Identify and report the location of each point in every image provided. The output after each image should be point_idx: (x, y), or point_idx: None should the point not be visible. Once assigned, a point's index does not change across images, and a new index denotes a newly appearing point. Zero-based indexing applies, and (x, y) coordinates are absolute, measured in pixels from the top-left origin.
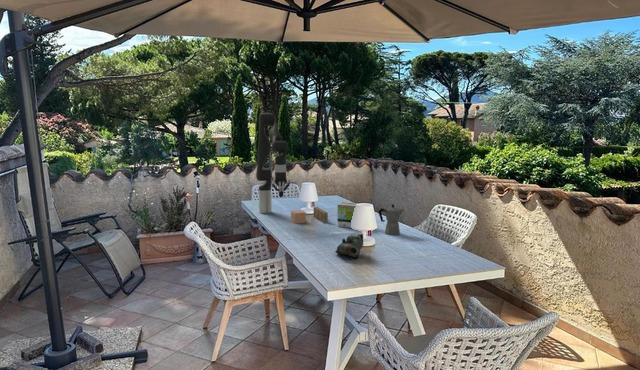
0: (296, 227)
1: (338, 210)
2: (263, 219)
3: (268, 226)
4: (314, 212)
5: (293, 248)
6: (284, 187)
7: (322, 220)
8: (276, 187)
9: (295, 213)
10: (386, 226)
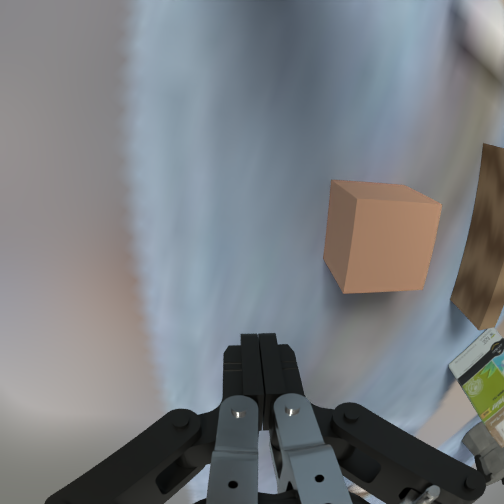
0: (293, 343)
1: (479, 415)
2: (146, 58)
3: (142, 273)
4: (501, 167)
5: (198, 491)
6: (362, 447)
7: (459, 291)
8: (166, 500)
9: (350, 292)
10: (475, 446)
